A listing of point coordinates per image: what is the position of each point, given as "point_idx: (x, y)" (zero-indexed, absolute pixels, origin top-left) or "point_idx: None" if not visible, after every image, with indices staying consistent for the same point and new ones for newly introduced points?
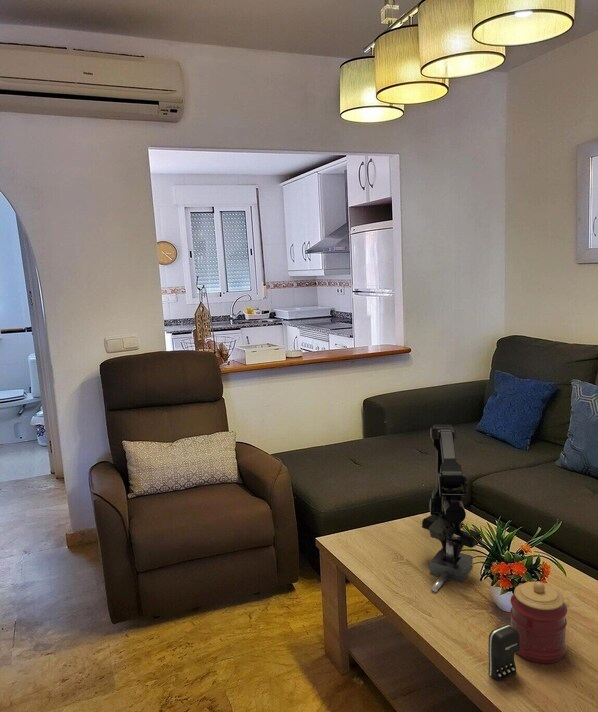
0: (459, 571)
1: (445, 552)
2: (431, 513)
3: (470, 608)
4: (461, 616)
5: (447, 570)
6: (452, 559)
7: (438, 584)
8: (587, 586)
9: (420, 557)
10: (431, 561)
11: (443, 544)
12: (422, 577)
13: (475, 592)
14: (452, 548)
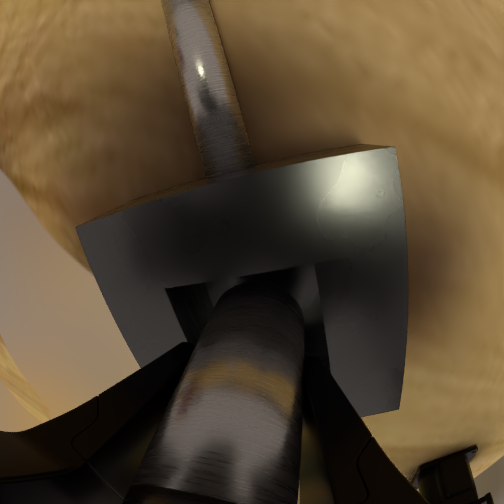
0: (92, 219)
1: (310, 367)
2: (488, 499)
3: (15, 70)
4: (23, 11)
5: (196, 184)
6: (210, 322)
7: (168, 15)
8: (15, 395)
9: (489, 285)
10: (383, 164)
11: (333, 443)
12: (367, 66)
13: (48, 182)
14: (162, 420)
